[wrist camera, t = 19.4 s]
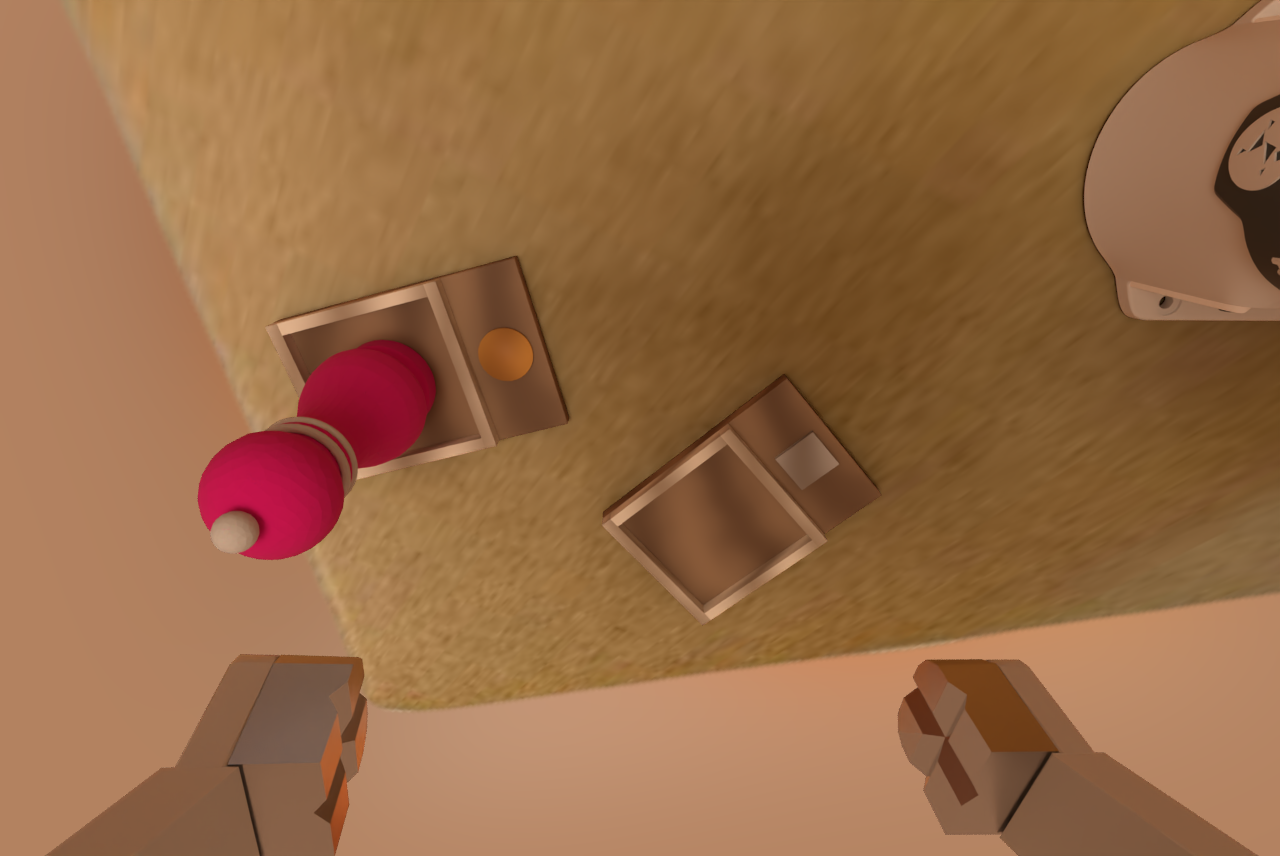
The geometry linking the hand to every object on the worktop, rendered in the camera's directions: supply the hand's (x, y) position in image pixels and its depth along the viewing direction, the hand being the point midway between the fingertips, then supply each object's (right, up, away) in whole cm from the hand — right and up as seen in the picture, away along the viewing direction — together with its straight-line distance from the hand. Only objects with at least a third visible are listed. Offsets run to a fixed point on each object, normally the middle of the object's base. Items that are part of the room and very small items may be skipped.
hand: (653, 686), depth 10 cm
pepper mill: (-17, +7, +37) cm, 41 cm away
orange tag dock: (-15, +8, +37) cm, 41 cm away
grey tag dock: (+7, -2, +41) cm, 41 cm away
